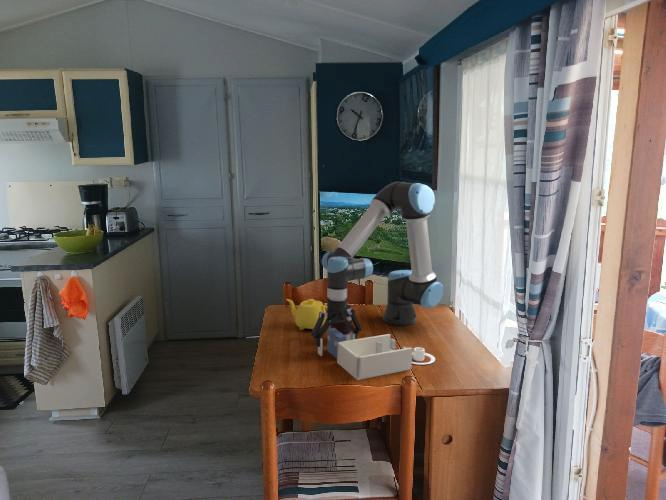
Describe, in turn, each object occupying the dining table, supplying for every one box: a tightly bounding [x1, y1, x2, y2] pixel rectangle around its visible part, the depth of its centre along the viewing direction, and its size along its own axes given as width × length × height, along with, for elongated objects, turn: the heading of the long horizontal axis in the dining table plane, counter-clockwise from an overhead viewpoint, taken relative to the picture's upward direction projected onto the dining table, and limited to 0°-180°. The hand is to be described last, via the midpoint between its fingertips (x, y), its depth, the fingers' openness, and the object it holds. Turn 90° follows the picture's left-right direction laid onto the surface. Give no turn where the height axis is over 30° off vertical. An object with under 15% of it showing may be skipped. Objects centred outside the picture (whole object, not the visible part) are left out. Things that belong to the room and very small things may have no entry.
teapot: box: [285, 298, 327, 331], centre depth 239 cm, size 14×20×13 cm
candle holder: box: [412, 346, 436, 366], centre depth 207 cm, size 12×12×4 cm
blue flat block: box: [326, 327, 346, 360], centre depth 209 cm, size 3×10×9 cm, turn 25°
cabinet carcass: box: [336, 333, 413, 381], centre depth 199 cm, size 22×16×8 cm
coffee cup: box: [330, 304, 354, 341], centre depth 222 cm, size 10×10×15 cm
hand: (336, 351), depth 210 cm, fingers open, 13 cm apart
